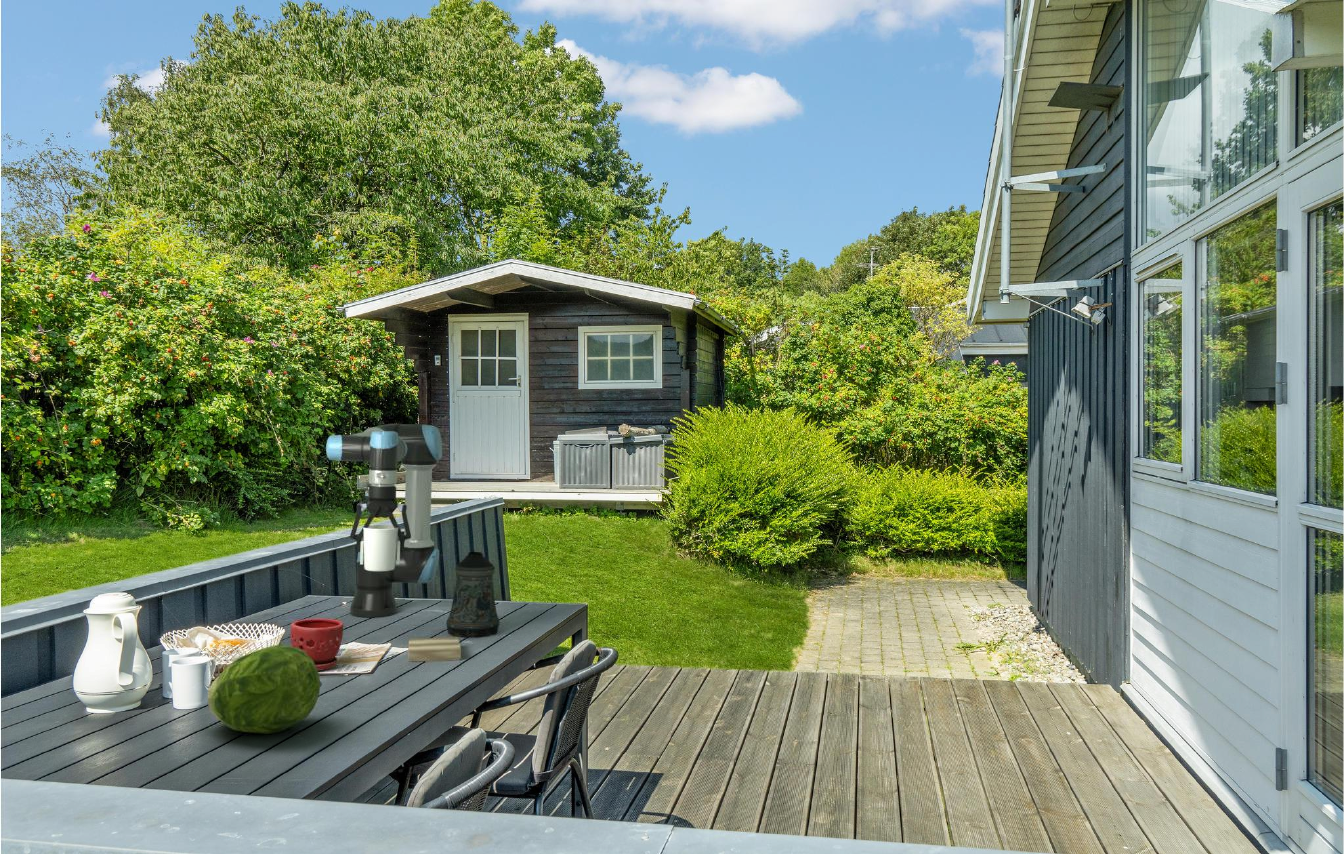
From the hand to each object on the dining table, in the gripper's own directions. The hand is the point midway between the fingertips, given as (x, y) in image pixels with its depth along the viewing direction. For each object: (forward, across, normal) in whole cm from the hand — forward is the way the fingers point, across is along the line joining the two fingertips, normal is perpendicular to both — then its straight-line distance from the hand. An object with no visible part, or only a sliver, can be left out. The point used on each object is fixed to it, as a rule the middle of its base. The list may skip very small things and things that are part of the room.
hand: (379, 563), depth 260 cm
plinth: (+26, +16, -4) cm, 30 cm away
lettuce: (+26, -21, -61) cm, 69 cm away
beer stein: (+26, +27, +23) cm, 44 cm away
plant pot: (+26, -15, -12) cm, 32 cm away
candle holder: (+2, 0, 0) cm, 2 cm away
